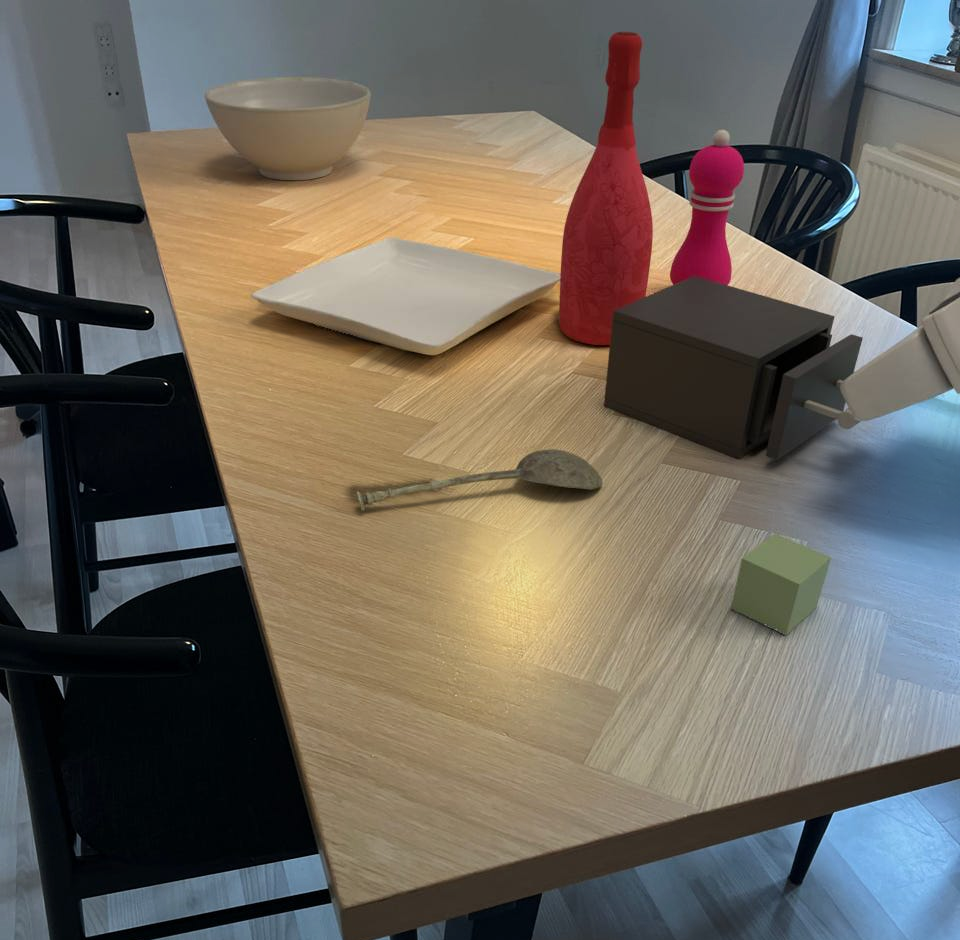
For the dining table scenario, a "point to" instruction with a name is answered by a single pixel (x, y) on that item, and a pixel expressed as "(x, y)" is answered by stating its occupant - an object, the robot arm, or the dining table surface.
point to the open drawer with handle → (803, 393)
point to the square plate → (408, 294)
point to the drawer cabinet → (701, 358)
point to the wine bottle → (608, 214)
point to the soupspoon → (515, 475)
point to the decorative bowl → (290, 122)
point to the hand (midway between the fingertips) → (852, 393)
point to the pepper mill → (709, 213)
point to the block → (780, 583)
